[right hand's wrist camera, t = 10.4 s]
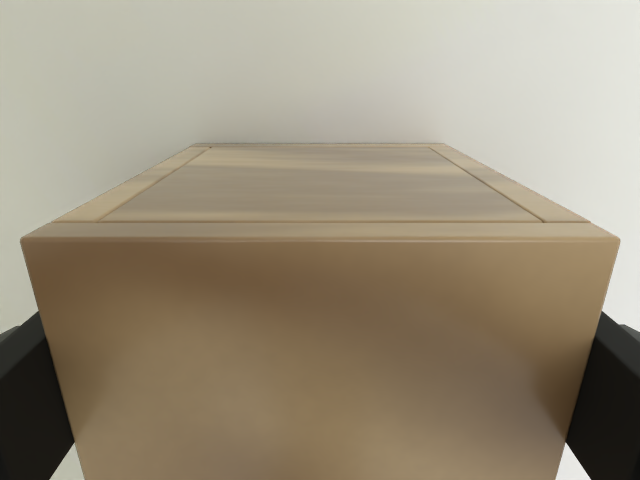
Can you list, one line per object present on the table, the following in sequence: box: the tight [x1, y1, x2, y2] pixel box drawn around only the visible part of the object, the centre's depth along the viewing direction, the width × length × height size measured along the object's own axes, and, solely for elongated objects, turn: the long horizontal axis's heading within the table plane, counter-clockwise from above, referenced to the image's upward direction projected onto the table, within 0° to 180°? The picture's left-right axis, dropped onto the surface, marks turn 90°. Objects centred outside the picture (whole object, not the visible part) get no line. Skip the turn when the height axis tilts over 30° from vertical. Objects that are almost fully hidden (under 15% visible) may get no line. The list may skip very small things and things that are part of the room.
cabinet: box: [20, 144, 620, 480], centre depth 16 cm, size 17×11×11 cm, turn 0°
